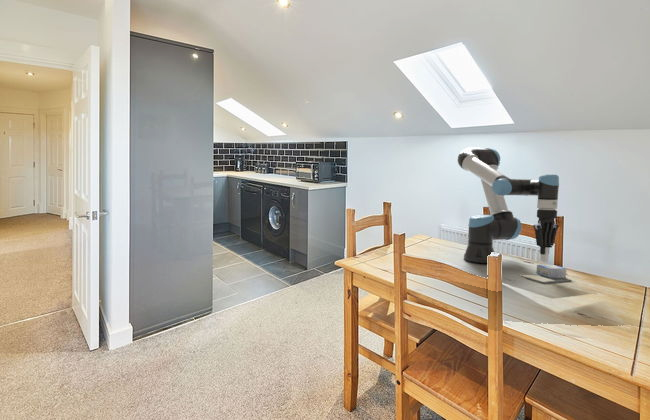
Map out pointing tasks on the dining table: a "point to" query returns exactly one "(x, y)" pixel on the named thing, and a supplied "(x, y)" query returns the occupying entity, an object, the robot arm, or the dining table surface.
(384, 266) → the dining table surface
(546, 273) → the medicine box
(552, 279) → the mat
